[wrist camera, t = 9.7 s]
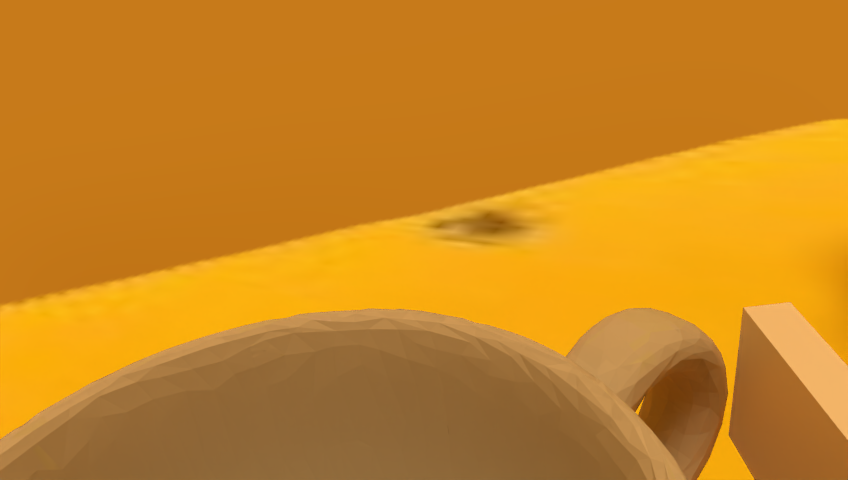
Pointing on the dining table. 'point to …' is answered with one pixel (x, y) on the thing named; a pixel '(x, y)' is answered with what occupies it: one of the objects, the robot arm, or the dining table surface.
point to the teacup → (391, 405)
